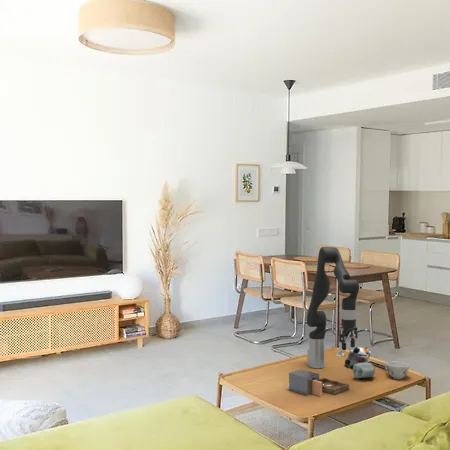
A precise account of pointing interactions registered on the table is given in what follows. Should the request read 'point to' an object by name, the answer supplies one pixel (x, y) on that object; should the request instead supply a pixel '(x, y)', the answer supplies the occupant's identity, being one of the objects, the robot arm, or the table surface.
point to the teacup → (397, 369)
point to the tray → (333, 386)
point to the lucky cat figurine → (357, 356)
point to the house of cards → (340, 352)
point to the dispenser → (302, 381)
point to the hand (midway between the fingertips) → (348, 348)
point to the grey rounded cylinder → (363, 370)
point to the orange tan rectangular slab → (316, 387)
